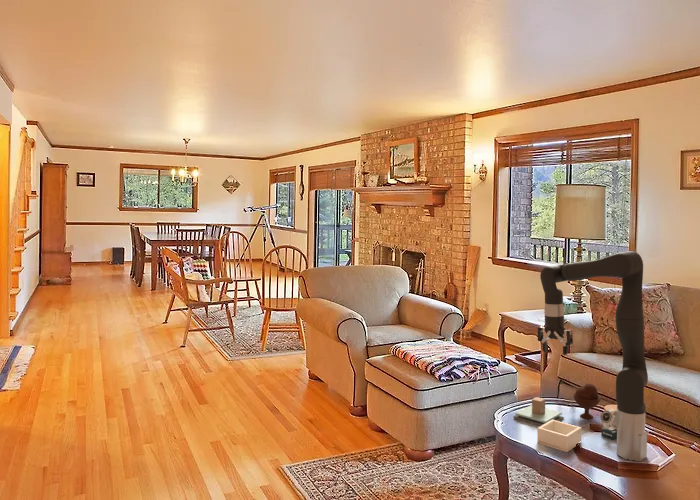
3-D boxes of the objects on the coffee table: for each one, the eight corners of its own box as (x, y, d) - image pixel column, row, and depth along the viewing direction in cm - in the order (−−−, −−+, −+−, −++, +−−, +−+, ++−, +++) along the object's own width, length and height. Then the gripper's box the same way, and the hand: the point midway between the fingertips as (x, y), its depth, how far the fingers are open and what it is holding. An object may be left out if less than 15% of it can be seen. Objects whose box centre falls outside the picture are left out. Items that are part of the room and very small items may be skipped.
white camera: (633, 425, 240) (634, 403, 239) (630, 434, 231) (631, 411, 230) (605, 420, 245) (606, 399, 245) (601, 429, 236) (602, 406, 236)
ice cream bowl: (595, 412, 254) (595, 379, 253) (603, 422, 243) (604, 387, 242) (570, 412, 256) (570, 379, 254) (577, 421, 244) (578, 387, 243)
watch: (597, 436, 229) (598, 409, 228) (611, 432, 233) (612, 406, 232) (609, 441, 224) (610, 414, 223) (623, 437, 228) (624, 410, 227)
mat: (563, 419, 248) (563, 416, 248) (547, 428, 238) (547, 426, 238) (529, 410, 259) (529, 407, 259) (513, 418, 250) (513, 416, 250)
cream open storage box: (581, 442, 224) (581, 427, 223) (566, 452, 215) (567, 436, 215) (552, 433, 232) (552, 419, 232) (537, 442, 224) (537, 427, 224)
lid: (561, 416, 248) (561, 398, 248) (545, 425, 239) (545, 407, 238) (531, 408, 258) (532, 391, 258) (515, 416, 249) (515, 399, 248)
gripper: (575, 314, 232) (576, 354, 233) (542, 311, 243) (543, 349, 244) (566, 317, 227) (567, 357, 228) (533, 314, 238) (534, 352, 239)
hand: (555, 353), depth 236 cm, fingers open, 8 cm apart
